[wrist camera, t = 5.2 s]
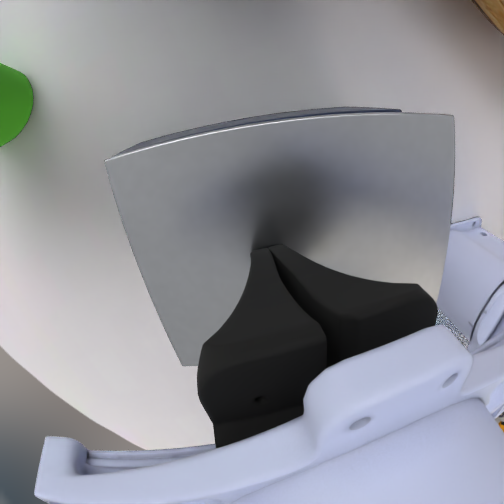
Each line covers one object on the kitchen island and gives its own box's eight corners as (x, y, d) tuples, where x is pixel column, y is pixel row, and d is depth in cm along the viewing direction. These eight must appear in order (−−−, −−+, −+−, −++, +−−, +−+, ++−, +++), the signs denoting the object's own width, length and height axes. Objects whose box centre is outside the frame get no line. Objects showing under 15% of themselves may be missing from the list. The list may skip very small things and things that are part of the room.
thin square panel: (445, 113, 10) (454, 115, 9) (425, 321, 15) (430, 329, 14) (110, 157, 11) (103, 160, 10) (184, 357, 16) (182, 366, 16)
